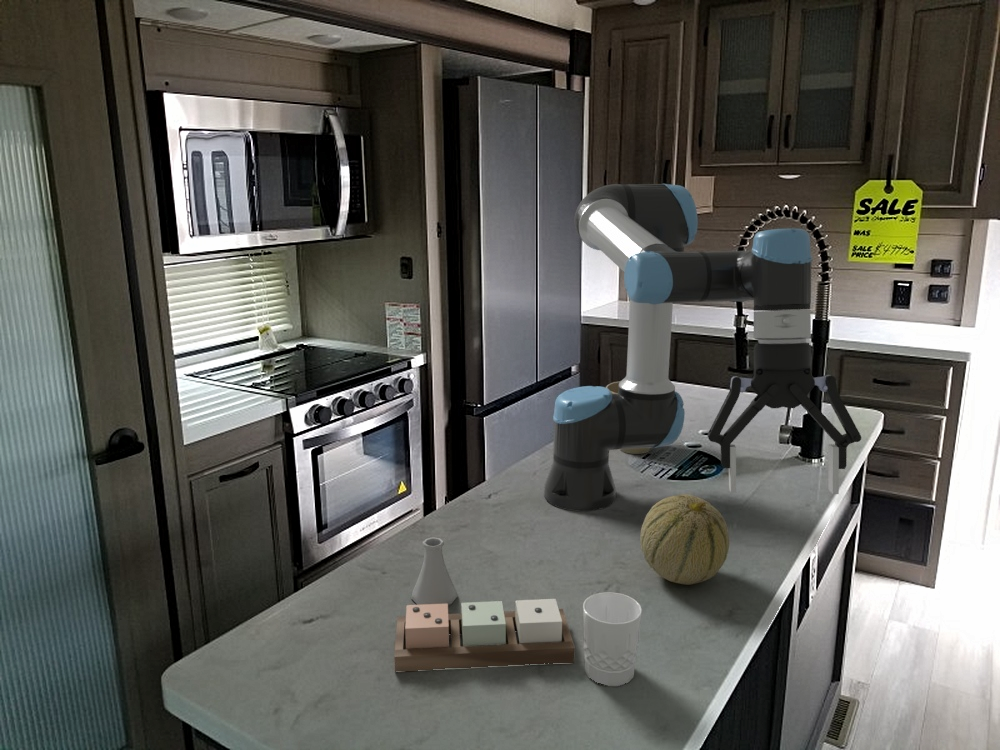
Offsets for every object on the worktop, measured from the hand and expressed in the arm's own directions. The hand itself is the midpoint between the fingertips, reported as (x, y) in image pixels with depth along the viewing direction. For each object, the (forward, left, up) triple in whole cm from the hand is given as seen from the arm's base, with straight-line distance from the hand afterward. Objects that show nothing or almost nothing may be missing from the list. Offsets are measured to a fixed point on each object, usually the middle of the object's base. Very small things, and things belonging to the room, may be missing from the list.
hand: (782, 491), depth 109 cm
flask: (-15, -50, -23) cm, 57 cm away
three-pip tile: (-1, -51, -21) cm, 55 cm away
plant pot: (-81, 0, -23) cm, 84 cm away
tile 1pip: (-1, -35, -21) cm, 40 cm away
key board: (-1, -43, -23) cm, 48 cm away
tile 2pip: (-1, -43, -21) cm, 47 cm away
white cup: (+7, -25, -23) cm, 35 cm away
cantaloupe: (-18, -8, -23) cm, 30 cm away
